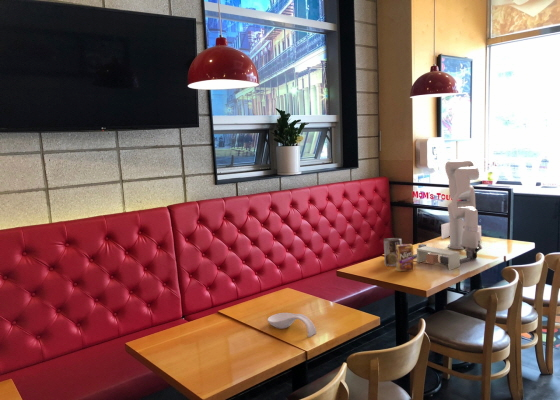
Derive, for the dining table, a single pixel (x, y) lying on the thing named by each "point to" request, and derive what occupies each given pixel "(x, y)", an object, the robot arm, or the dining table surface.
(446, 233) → the storage container
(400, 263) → the candy box
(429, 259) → the block
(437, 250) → the cubby
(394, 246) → the coffee box
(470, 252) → the crook tool
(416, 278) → the dining table surface
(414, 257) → the straight bar tool
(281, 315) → the spoon rest
